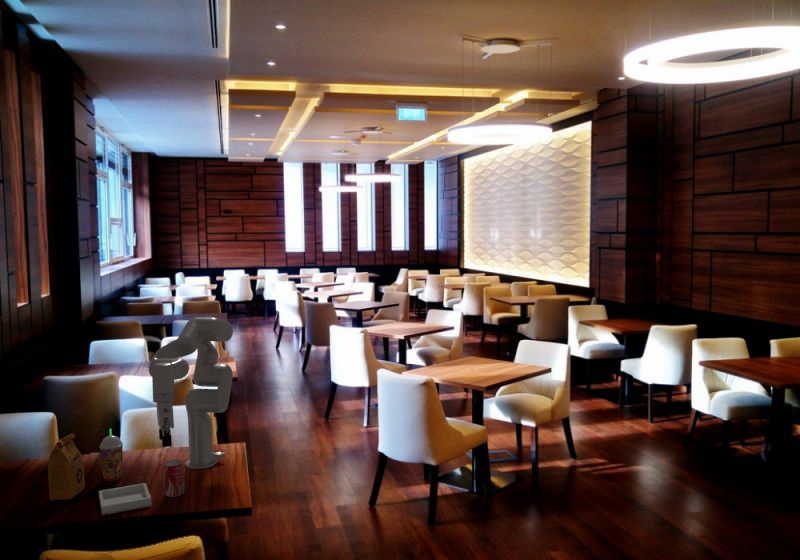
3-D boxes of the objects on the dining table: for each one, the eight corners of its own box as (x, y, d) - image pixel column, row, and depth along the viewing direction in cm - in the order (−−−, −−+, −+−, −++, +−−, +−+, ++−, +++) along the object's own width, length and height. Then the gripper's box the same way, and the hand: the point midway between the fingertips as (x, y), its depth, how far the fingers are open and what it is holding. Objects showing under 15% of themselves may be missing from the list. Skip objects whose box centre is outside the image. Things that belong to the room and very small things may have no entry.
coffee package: (90, 489, 258) (87, 432, 257) (71, 502, 246) (68, 442, 244) (64, 488, 259) (61, 431, 257) (45, 502, 247) (41, 442, 245)
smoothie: (96, 480, 267) (94, 430, 265) (114, 473, 274) (112, 424, 273) (111, 484, 263) (108, 433, 261) (129, 477, 270) (126, 427, 269)
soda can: (164, 492, 254) (163, 461, 253) (184, 489, 257) (183, 458, 256) (164, 499, 248) (163, 467, 247) (185, 496, 250) (184, 464, 249)
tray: (145, 490, 256) (145, 482, 256) (151, 506, 242) (151, 497, 242) (99, 498, 249) (98, 490, 249) (102, 515, 235) (101, 506, 235)
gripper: (177, 400, 244) (179, 448, 245) (171, 390, 260) (173, 435, 261) (155, 403, 241) (157, 451, 242) (150, 392, 256) (152, 437, 258)
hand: (165, 442), depth 251 cm, fingers open, 9 cm apart
